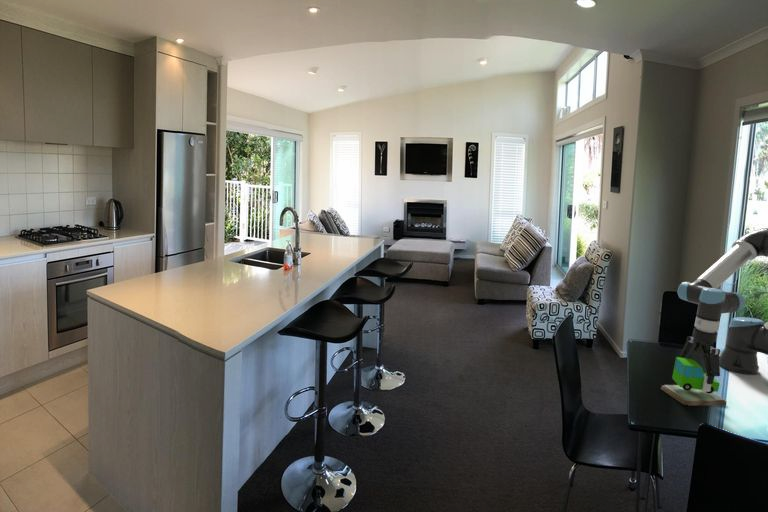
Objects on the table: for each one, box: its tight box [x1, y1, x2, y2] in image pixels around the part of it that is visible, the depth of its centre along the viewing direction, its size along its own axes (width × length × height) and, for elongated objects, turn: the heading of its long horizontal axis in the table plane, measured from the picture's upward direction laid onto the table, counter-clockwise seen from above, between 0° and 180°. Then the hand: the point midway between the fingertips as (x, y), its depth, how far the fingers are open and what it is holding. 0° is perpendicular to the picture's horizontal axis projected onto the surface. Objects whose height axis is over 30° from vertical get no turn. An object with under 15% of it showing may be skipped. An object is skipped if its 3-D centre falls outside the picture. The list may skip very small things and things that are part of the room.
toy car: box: [671, 356, 721, 394], centre depth 186 cm, size 10×13×10 cm
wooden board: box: [660, 384, 727, 406], centre depth 188 cm, size 17×13×2 cm
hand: (695, 384), depth 187 cm, fingers closed on toy car, 10 cm apart
